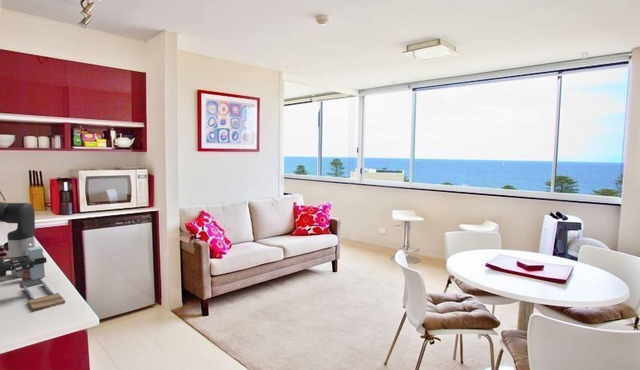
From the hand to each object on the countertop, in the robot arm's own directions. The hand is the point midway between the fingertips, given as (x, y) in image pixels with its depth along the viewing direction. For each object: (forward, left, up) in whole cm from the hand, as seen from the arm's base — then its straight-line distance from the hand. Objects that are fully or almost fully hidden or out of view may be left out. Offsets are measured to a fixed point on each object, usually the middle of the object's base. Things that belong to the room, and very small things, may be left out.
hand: (44, 258), depth 146 cm
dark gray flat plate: (-13, -3, -14) cm, 19 cm away
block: (0, -3, -7) cm, 8 cm away
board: (+14, -3, -14) cm, 20 cm away
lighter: (-20, -1, -14) cm, 24 cm away
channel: (0, -3, -14) cm, 14 cm away
